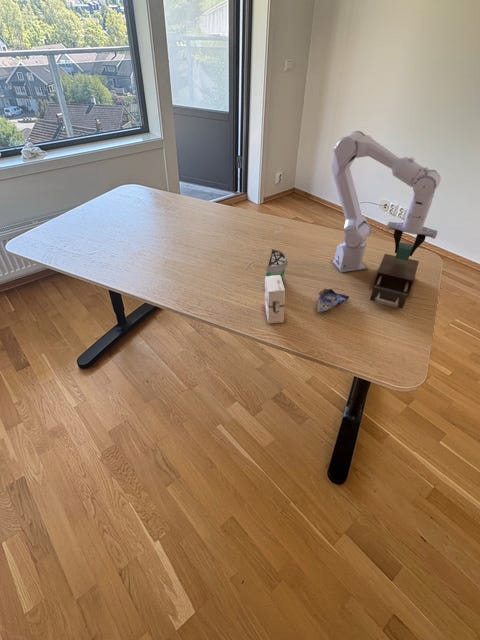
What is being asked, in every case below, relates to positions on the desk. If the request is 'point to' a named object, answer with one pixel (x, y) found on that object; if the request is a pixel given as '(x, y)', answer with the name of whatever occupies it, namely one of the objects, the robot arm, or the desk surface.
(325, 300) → the snack package
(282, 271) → the food container
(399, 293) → the drawer
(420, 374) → the desk surface
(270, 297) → the ink box
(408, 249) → the block
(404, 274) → the cabinet
